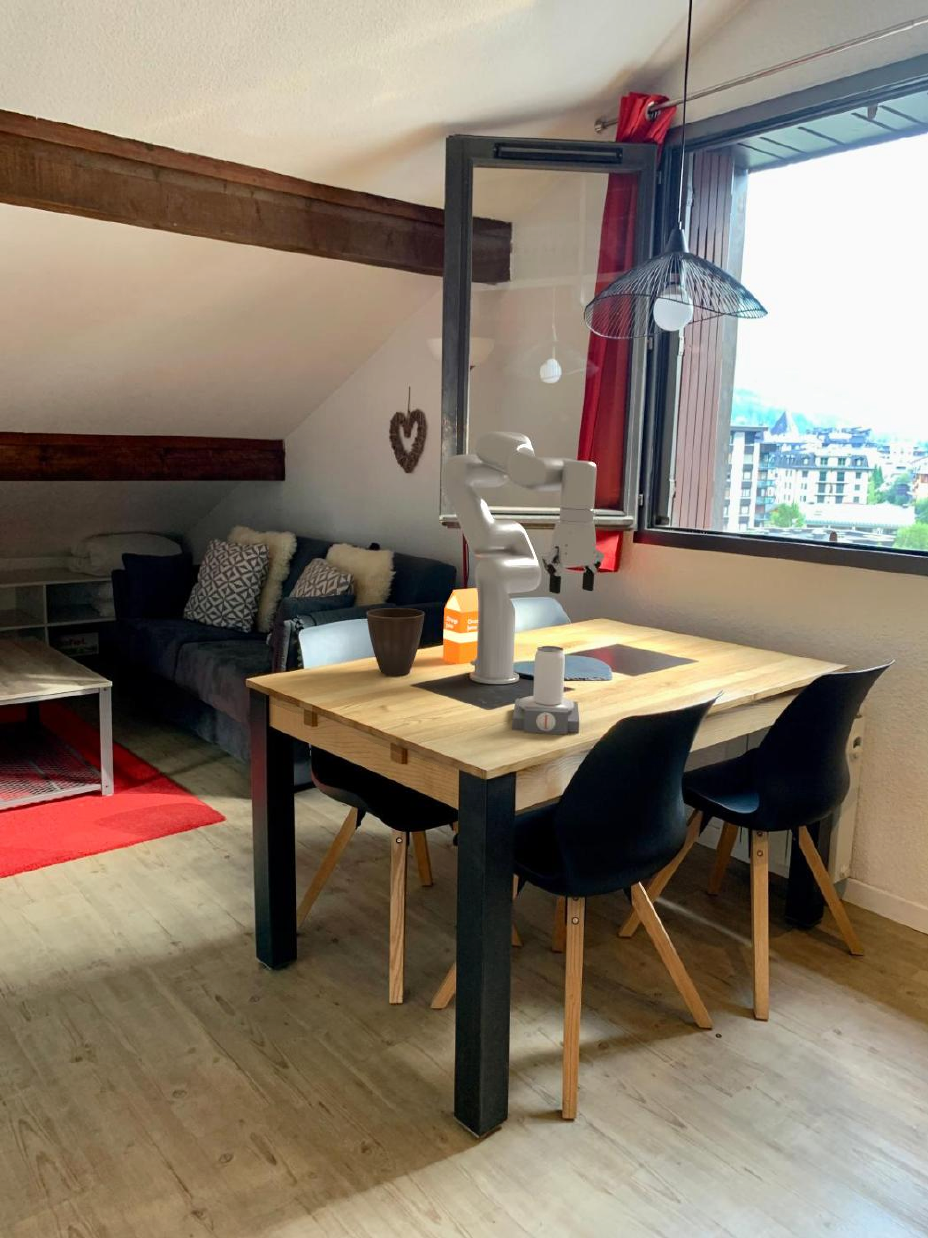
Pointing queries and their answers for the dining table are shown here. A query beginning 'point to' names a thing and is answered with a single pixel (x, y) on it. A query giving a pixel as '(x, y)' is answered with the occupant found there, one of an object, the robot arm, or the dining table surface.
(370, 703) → the dining table surface
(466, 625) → the orange juice
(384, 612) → the plant pot
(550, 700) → the can
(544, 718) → the scale
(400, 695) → the dining table surface
